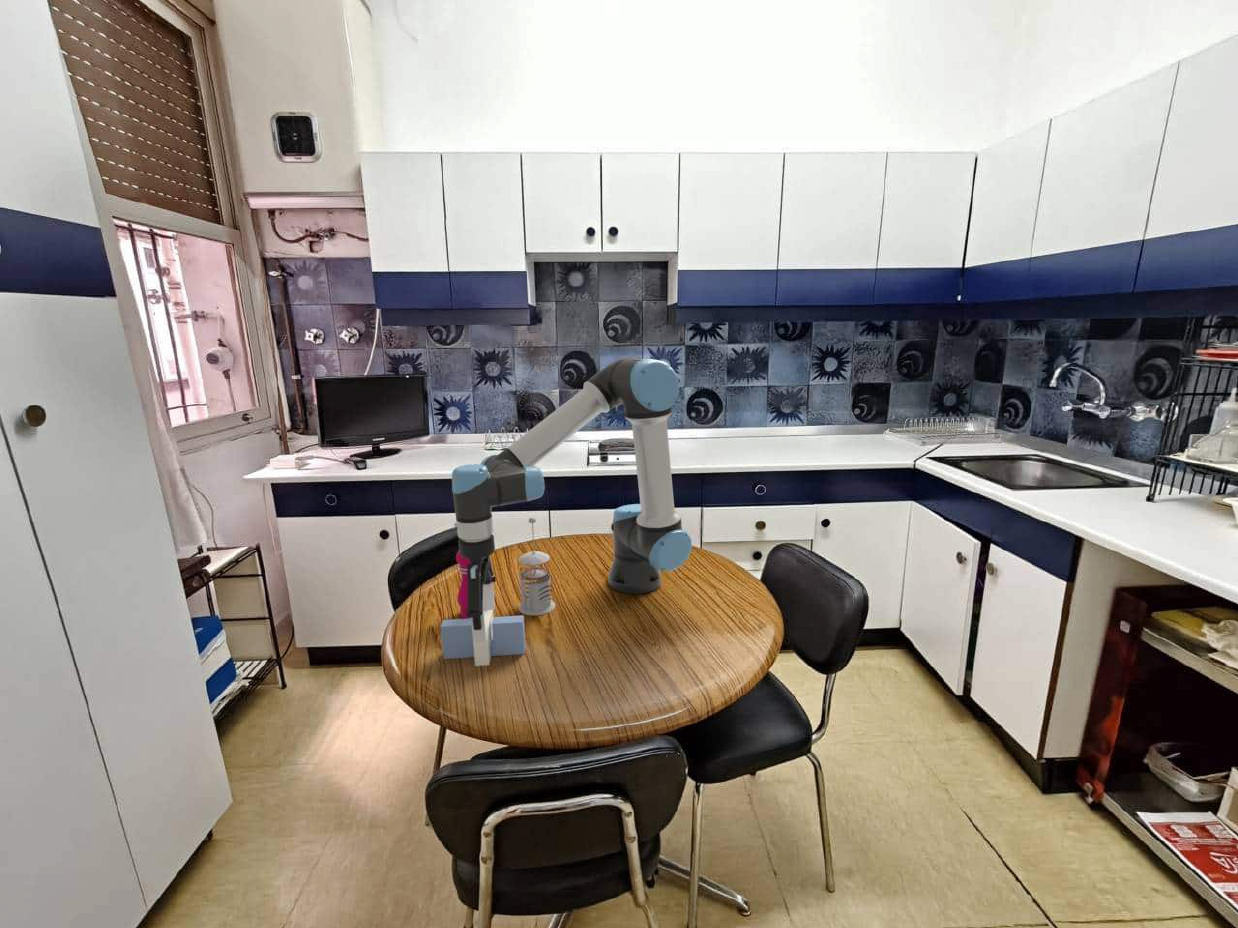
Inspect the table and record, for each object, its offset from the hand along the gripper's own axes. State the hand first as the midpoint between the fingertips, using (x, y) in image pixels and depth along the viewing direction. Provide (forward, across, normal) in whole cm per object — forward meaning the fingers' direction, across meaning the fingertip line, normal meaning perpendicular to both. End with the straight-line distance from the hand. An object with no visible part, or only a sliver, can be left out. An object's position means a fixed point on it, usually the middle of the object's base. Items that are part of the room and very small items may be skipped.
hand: (484, 624), depth 123 cm
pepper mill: (+7, -19, -6) cm, 21 cm away
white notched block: (+7, 0, 0) cm, 7 cm away
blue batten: (+7, 0, 0) cm, 7 cm away
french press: (+8, -20, +10) cm, 23 cm away
